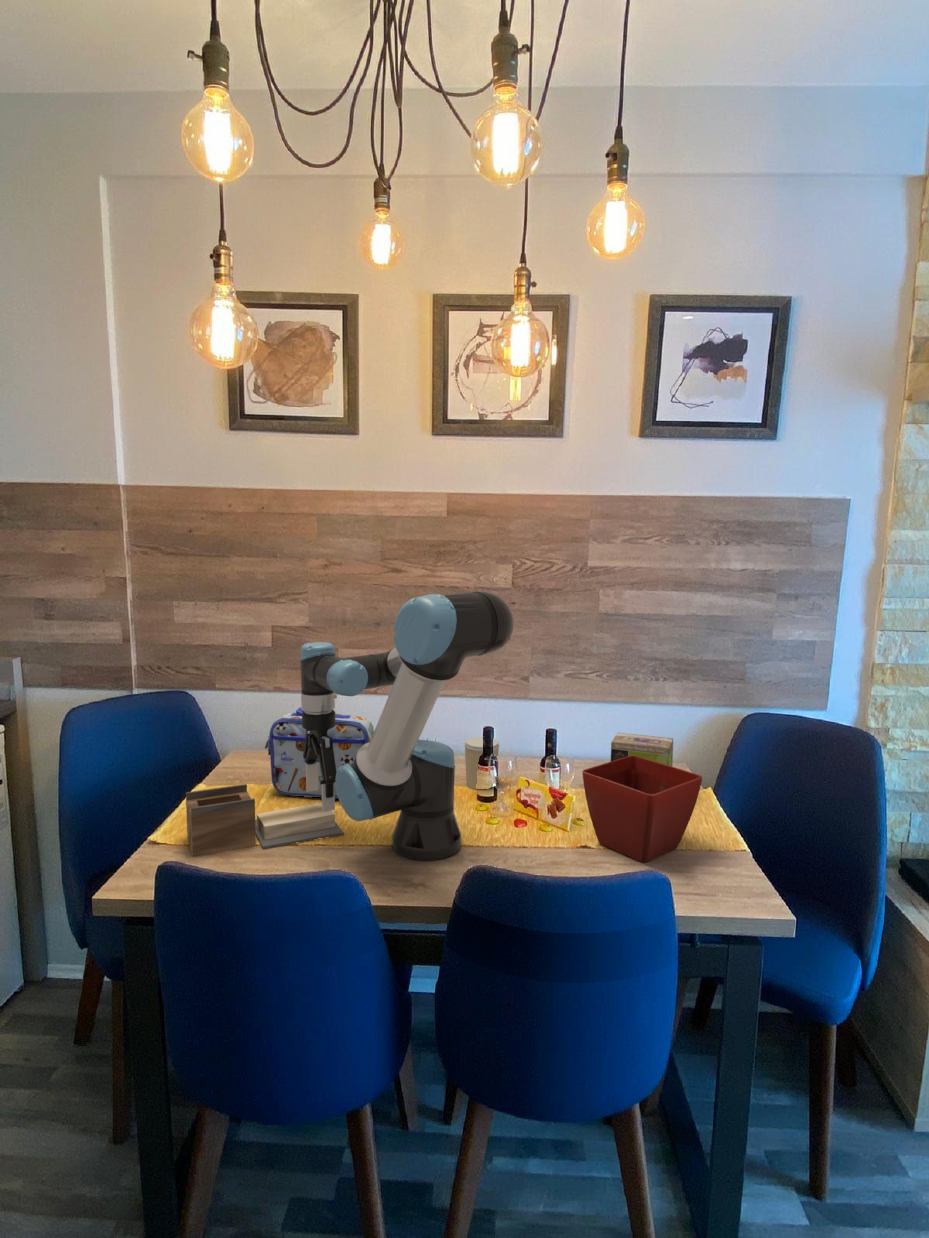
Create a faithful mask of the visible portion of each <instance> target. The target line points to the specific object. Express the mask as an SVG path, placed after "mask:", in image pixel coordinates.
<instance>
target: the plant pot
mask: <svg viewBox="0 0 929 1238" xmlns="http://www.w3.org/2000/svg"><path fill="white" fill-rule="evenodd" d="M582 781H583V787H584V794H585V799H586V804H587V809H588V812H589V817H590V820H591V824H592V826H593V830H594V832H595V833H594V834H595V836H596V838H597V841H598V843H599V844H600V845H602V846H604V847H607V848H608V849H611V850H614V851H616V852H618V853H621V854H623V855H625V856H627V857H630V858H632V859H634V860H637V861H639V862H642V863H647V862H648V861H651V860H653V859H656V858H658V857H660V856H663V855H664V854H667V853H669V852H671V851H673V850H675V849H677V848H678V846H679V844H680V843H681V841H682V839H683V836H684V834H685V832H686V829H687V827H688V825H689V822H690V820H691V818H692V814H693V812H694V810H695V806H696V804H697V800H698V798H699V793H700V789H701V786H702V782H703V776H702V775H700V774H697V773H694V772H691V771H688V770H685V769H681V768H678V767H675V766H673V765H672V766H669V765H665V764H662V763H659V762H655V761H652V760H649V759H645V758H642V757H639V756H634V755H631V756H628V757H624V758H621V759H618V760H614V761H611V760H610V761H607V762H605V763H601V764H598V765H594V766H591V767H588V768H586V769H583V770H582Z"/></svg>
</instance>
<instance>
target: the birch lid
mask: <svg viewBox="0 0 929 1238" xmlns="http://www.w3.org/2000/svg"><path fill="white" fill-rule="evenodd" d="M256 819H257V827H258V829H259V830H260V832H261V834H262V836H263V837H264V839H265V840H266V839H271V838H277V837H282V836H288V835H293V834H299V833H304V832H310V831H315V830H320V829H326V828H331V827H335V822H336V814H335V813H334V810H331V811H325V812H323V811H322V802H319V803H313V804H308V805H307V804H306V805H302V806H295V807H290V808H282V809H277V810H273V811H272V810H271V811H264V812H261V813H256Z"/></svg>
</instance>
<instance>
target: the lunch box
mask: <svg viewBox="0 0 929 1238" xmlns="http://www.w3.org/2000/svg"><path fill="white" fill-rule="evenodd" d="M302 712H303V710H302V709H301V706H300V707H298V708H297V709H296V711H295V712H290V713H286V714H284V715H282V716H281V718H279V719H277V720H275V721H274V722H273V723H272V725H271V726H270V730H269V736H267V740H266V743H265V744H264V749H267V752H268V753H267V754H268V756H270V758H269V759H270V771H271V772H270V773H271V783H272V786H273V788H274V789H275V791H276V792H277V793H279V794H282V795H284V794H286V795H285V796H288V795H294V796H293V797H297V796H304V797H303V798H312V797H321V798H320V799H322V784H320V782H321V781H323V778H322V774H321V769H320V764H319V762H314V763H318V790H316V791H310V792H307V791H306V762H305V759H304V758H303V753H304V745H305V737H306V729H304V728H303V727H302ZM374 731H375V728H374V725H373V723H372V721H370V720H369V719H368V718H366V717H364V716H363V717H362V716H358V715H351V714H339V713H335V726H334V727H333V728H332V729H329V730H328V731H327V733H328V736H329V737H330V738H331V737H332V739H333V751H334V758H335V765H336V772H337V770H338V769H339V767H341V766H343V765H345V764H351V763H353V762H354V760H355V757H356V755H357V752H358V750H359V749H360V748H361V747H362V746H363V745H364V744H366V743H369V742H370V741H371V738H372V736H373V733H374ZM329 778H331V777H329ZM334 788H335V799H339V798H338V794H337V790H336V782H335V783H334ZM295 795H297V796H295Z"/></svg>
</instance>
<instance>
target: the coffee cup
mask: <svg viewBox="0 0 929 1238" xmlns="http://www.w3.org/2000/svg"><path fill="white" fill-rule="evenodd" d="M483 737H484V736H475V737H474V736H473V737H470V738H467V739H466V740H465V742H464V744H463V745H464V758H465V760H464V761H465V762H464V763H465V779H466V786H467V785H468V786H467V788H470V787H471V788H470V789H472V788H473V789H472V790H476V784H477V771H478V762H479V757H480V756H481V755H482V753H483ZM499 749H500V743H499V741H498V740H497V739H495V738H493V753H494V754H495V755H496V756H498V757H499Z"/></svg>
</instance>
